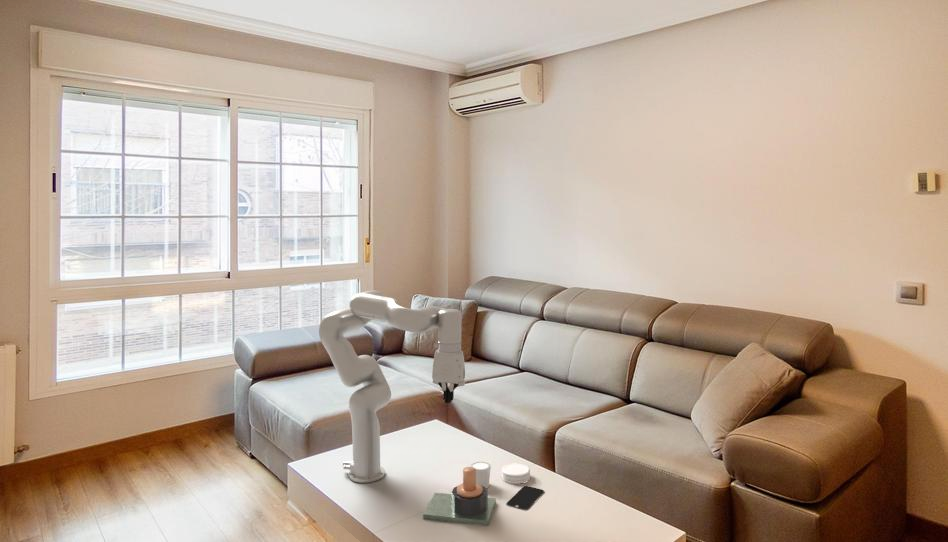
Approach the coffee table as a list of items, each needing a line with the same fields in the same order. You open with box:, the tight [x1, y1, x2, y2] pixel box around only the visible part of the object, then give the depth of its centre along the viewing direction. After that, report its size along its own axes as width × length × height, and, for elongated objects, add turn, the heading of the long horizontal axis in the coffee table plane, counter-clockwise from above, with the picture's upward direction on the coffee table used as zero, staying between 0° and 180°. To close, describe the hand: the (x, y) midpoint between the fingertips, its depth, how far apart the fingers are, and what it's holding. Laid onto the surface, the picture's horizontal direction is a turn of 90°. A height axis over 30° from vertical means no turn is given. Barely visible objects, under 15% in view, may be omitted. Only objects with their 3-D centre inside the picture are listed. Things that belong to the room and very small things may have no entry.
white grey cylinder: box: [470, 461, 492, 489], centre depth 197 cm, size 7×7×7 cm
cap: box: [457, 466, 483, 498], centre depth 179 cm, size 8×8×10 cm
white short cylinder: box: [501, 462, 531, 485], centre depth 203 cm, size 10×10×4 cm
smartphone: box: [505, 485, 545, 511], centre depth 188 cm, size 8×1×15 cm
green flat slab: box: [422, 484, 497, 527], centre depth 180 cm, size 20×14×6 cm
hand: (448, 401), depth 190 cm, fingers closed
